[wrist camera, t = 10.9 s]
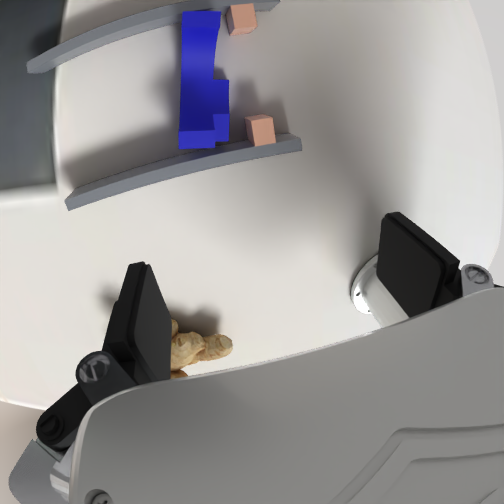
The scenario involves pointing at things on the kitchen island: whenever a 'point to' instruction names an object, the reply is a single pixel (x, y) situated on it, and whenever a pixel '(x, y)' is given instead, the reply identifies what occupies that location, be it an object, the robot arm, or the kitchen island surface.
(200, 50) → the cable clip
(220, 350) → the ginger root
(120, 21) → the guide channel
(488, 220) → the kitchen island surface
